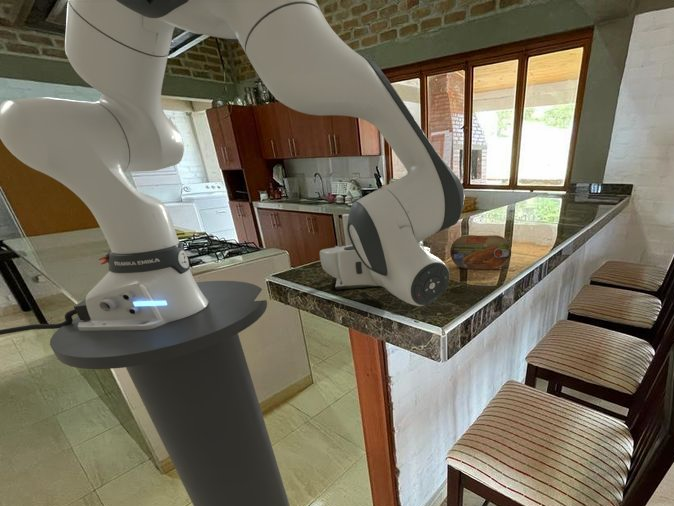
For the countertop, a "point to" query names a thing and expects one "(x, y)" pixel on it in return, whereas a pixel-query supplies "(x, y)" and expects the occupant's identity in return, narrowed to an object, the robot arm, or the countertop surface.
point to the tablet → (341, 286)
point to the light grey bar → (345, 224)
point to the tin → (480, 251)
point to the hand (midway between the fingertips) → (359, 246)
